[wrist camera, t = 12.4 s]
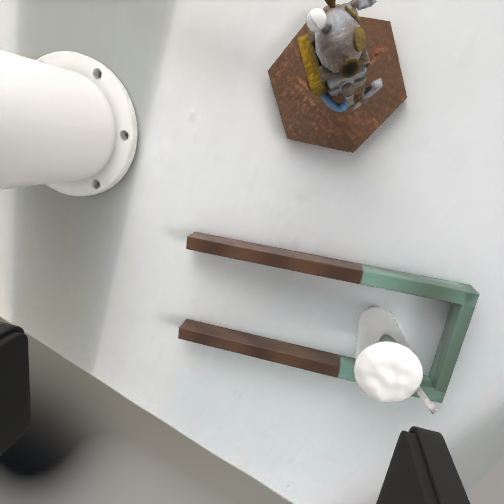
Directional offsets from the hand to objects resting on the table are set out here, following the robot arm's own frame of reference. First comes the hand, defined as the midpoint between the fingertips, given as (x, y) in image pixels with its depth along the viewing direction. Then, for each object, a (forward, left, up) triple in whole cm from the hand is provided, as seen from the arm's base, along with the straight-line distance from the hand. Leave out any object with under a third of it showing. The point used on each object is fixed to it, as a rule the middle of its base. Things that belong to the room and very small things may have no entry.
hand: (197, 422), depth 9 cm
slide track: (+3, -8, -26) cm, 27 cm away
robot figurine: (+1, +11, -26) cm, 28 cm away
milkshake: (+9, -8, -26) cm, 28 cm away
